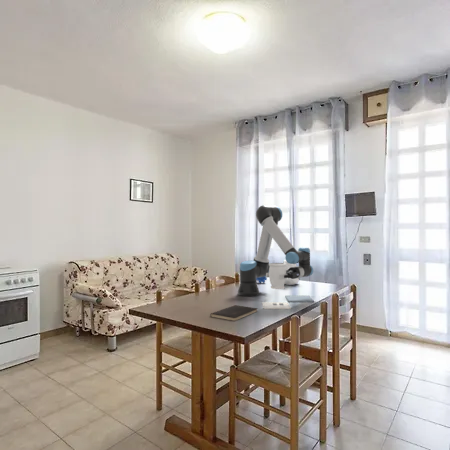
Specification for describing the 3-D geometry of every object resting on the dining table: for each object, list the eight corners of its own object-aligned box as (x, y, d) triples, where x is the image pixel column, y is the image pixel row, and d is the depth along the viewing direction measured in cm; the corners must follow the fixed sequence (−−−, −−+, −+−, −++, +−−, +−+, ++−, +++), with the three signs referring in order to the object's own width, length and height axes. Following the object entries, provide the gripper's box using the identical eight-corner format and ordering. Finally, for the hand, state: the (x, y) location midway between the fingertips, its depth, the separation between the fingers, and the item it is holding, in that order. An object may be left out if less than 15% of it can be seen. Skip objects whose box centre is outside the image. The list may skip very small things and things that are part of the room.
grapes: (252, 283, 285) (252, 269, 285) (254, 282, 291) (254, 268, 291) (265, 284, 280) (265, 269, 280) (267, 282, 286) (267, 268, 286)
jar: (273, 290, 199) (272, 264, 199) (266, 287, 209) (266, 263, 209) (289, 288, 202) (289, 264, 202) (282, 286, 212) (281, 262, 212)
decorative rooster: (287, 281, 290) (286, 253, 291) (303, 283, 280) (302, 253, 280) (270, 285, 272) (270, 255, 272) (287, 287, 261) (286, 256, 262)
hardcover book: (257, 312, 189) (257, 308, 189) (234, 322, 171) (234, 317, 171) (234, 308, 199) (234, 304, 199) (210, 317, 180) (210, 313, 180)
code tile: (263, 308, 195) (263, 308, 195) (262, 302, 211) (262, 302, 211) (291, 308, 194) (291, 308, 194) (287, 302, 210) (287, 302, 210)
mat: (288, 302, 212) (288, 300, 212) (285, 296, 227) (285, 295, 227) (313, 302, 210) (313, 300, 210) (309, 296, 226) (309, 295, 226)
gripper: (310, 280, 208) (288, 284, 194) (282, 276, 225) (259, 280, 211) (310, 268, 209) (287, 271, 194) (281, 265, 226) (259, 268, 211)
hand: (273, 276), depth 202 cm, fingers closed on jar, 10 cm apart
